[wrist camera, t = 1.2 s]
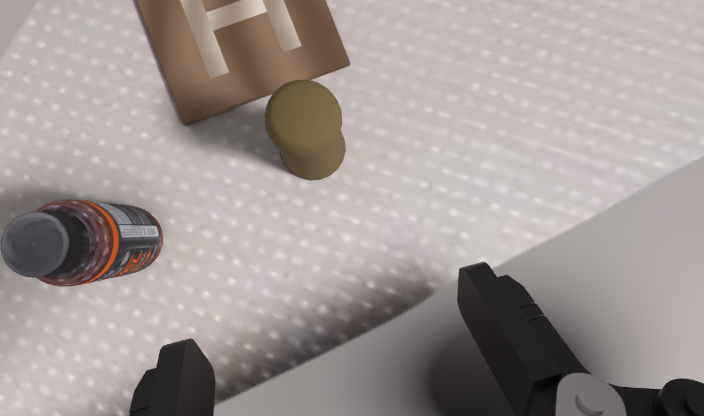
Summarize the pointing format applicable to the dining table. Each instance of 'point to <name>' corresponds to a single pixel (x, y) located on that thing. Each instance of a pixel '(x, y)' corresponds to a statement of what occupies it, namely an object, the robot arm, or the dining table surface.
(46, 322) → the dining table surface
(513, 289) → the robot arm
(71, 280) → the supplement bottle
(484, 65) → the dining table surface
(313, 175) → the olive pawn figure
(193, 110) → the board
